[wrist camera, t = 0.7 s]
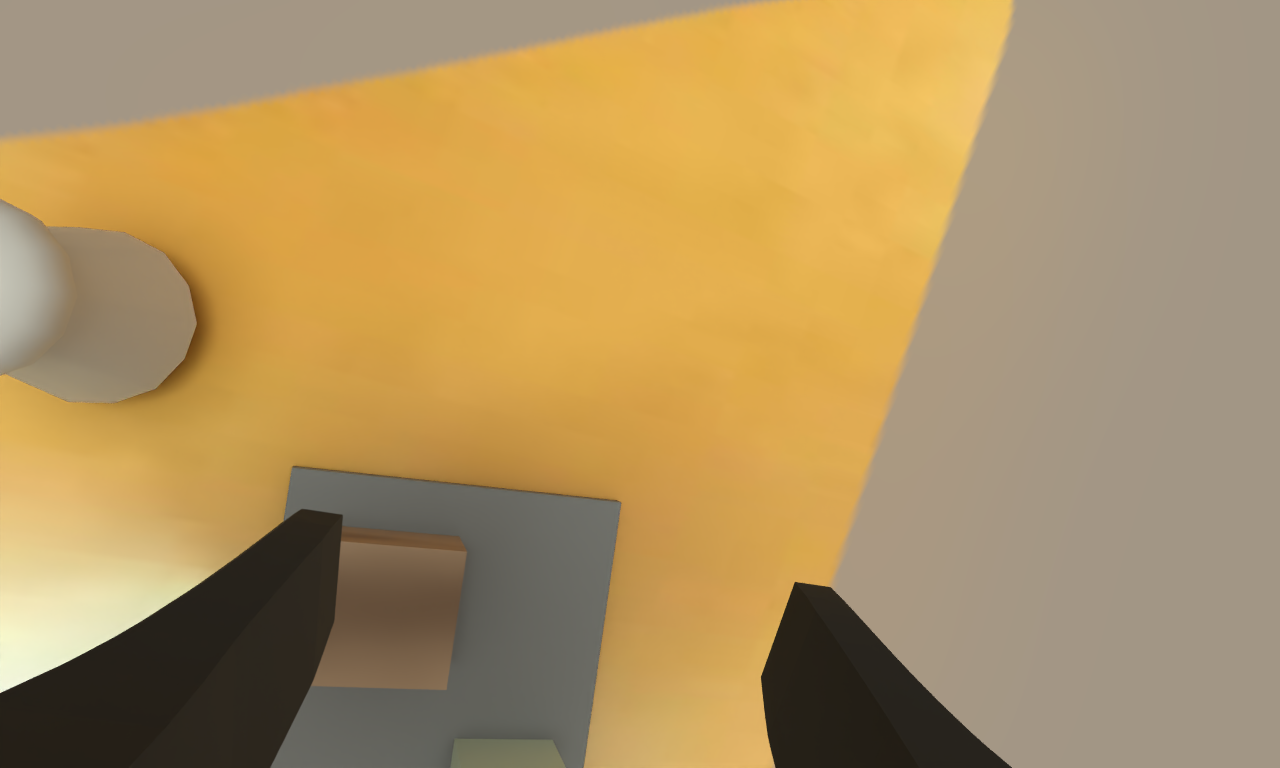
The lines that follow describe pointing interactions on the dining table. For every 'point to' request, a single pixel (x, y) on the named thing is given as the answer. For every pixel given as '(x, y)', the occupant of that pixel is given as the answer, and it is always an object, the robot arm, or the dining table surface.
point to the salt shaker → (88, 310)
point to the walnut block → (394, 610)
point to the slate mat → (473, 623)
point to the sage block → (505, 753)
